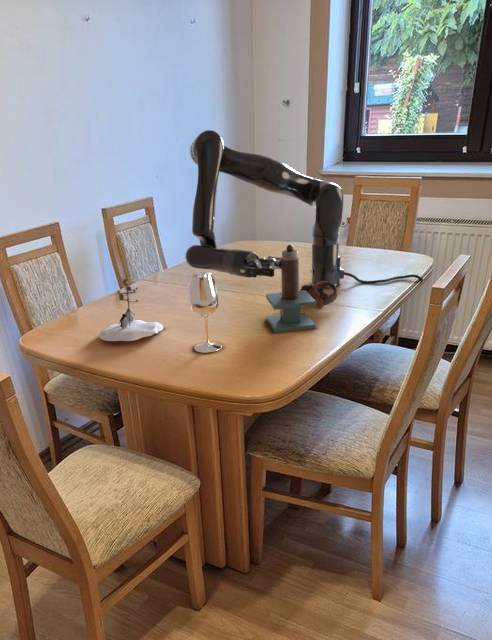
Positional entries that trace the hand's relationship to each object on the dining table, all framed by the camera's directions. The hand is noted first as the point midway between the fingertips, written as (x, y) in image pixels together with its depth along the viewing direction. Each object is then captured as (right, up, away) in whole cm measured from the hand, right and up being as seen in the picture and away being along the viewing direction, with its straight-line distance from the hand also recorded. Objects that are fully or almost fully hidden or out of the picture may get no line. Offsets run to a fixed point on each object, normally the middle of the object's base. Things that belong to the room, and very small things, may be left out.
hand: (282, 269), depth 165 cm
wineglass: (-21, -24, -6) cm, 32 cm away
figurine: (-44, -18, +7) cm, 48 cm away
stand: (+3, -14, +7) cm, 16 cm away
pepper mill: (+2, -7, +2) cm, 8 cm away
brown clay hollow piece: (+14, -5, +21) cm, 26 cm away
